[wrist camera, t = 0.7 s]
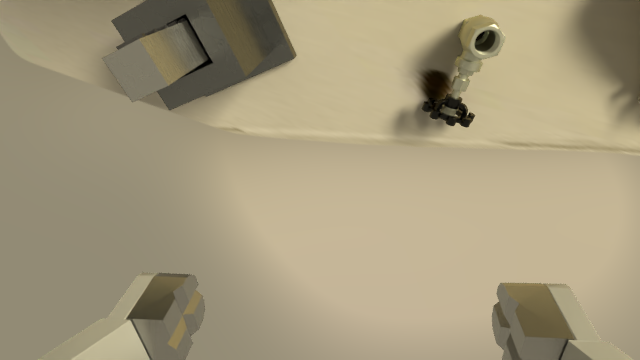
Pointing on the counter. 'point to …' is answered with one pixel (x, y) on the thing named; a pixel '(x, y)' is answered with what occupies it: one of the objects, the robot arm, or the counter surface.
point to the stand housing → (215, 41)
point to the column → (156, 58)
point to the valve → (467, 68)
